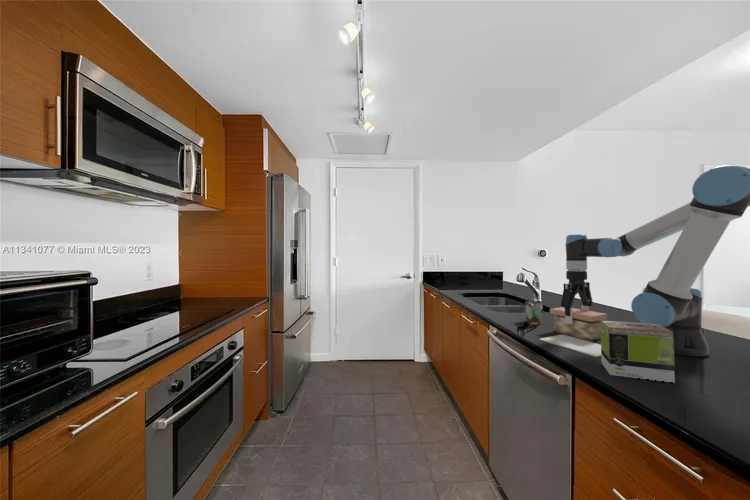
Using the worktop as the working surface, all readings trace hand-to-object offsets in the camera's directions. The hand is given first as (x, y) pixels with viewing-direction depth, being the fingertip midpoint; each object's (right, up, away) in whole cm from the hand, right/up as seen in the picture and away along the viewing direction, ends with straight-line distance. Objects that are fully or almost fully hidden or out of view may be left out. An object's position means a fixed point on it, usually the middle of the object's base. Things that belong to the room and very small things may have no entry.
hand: (577, 322), depth 132 cm
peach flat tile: (0, +2, 0) cm, 2 cm away
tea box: (-9, -6, -40) cm, 41 cm away
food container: (-8, -6, +20) cm, 22 cm away
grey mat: (-9, -6, -13) cm, 17 cm away
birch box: (0, -6, 0) cm, 6 cm away
